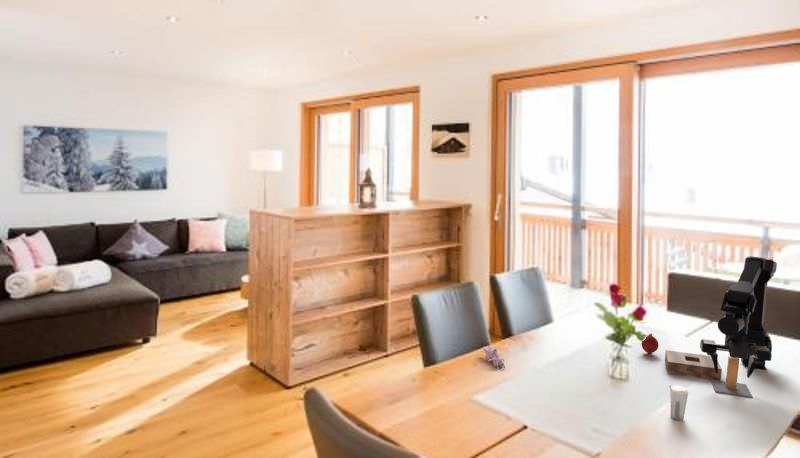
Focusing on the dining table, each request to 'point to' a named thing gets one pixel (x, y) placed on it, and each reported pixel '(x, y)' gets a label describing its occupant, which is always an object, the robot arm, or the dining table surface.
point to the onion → (650, 344)
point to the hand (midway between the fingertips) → (732, 375)
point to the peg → (732, 373)
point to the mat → (739, 391)
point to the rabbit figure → (493, 357)
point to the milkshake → (678, 402)
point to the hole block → (691, 365)
